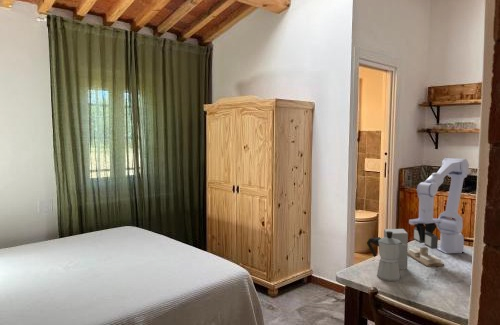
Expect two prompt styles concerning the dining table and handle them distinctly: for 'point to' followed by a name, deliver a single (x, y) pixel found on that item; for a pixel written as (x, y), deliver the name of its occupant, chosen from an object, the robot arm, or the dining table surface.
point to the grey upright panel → (427, 239)
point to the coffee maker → (387, 256)
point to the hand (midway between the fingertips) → (425, 240)
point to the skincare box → (403, 237)
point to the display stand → (424, 257)
